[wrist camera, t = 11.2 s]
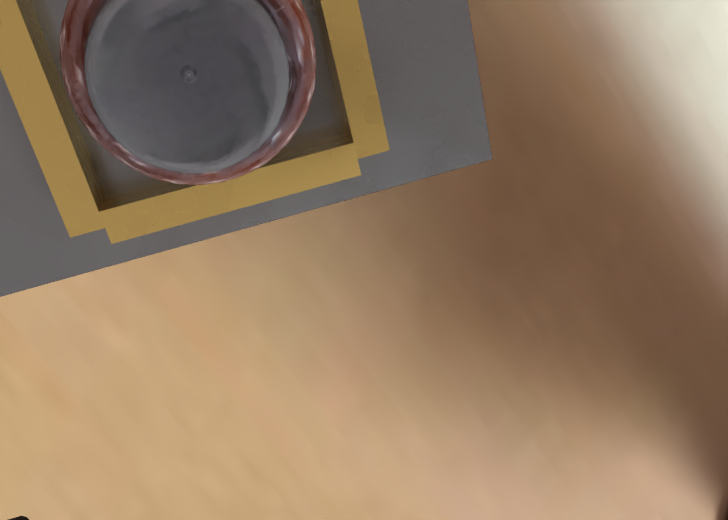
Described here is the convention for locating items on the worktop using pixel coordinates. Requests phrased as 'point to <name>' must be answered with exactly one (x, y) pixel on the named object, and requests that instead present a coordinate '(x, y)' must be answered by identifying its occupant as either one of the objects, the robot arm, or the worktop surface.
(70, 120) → the grey boxy piece
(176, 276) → the worktop surface
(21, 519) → the robot arm
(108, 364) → the worktop surface
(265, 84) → the supplement bottle
